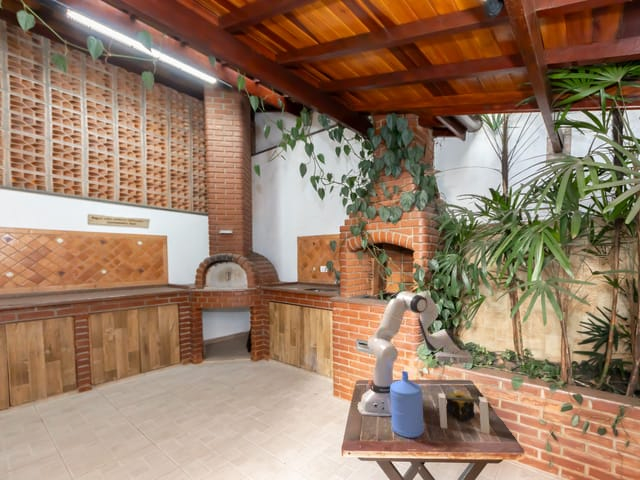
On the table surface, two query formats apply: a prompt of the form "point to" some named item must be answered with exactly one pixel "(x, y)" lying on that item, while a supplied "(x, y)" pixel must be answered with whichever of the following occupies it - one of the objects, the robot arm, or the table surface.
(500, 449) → the table surface
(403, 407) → the water jug
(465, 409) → the candle
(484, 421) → the frame
